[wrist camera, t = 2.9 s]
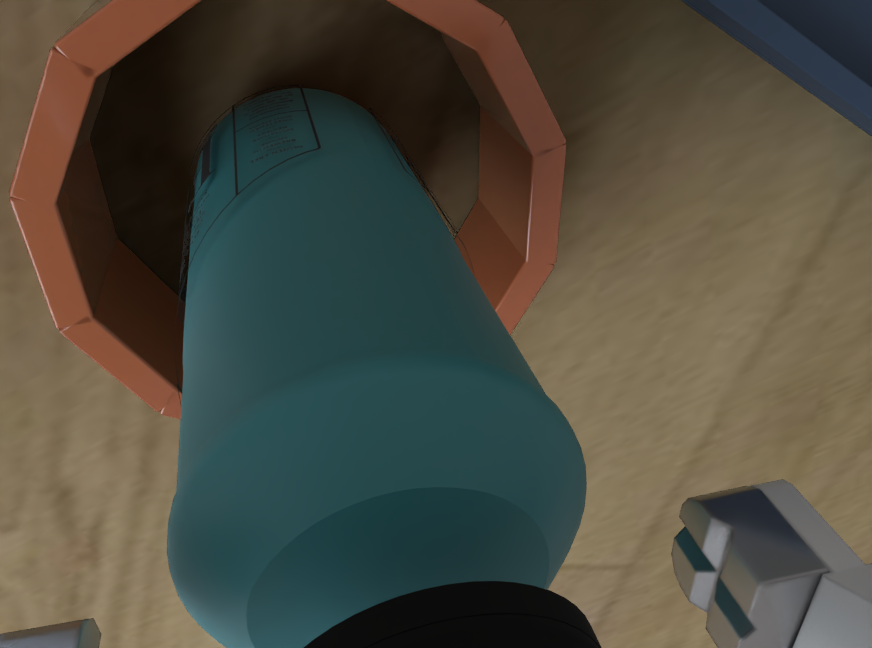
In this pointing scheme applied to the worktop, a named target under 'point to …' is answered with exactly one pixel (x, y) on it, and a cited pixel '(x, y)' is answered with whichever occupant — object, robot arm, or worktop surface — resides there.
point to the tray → (808, 45)
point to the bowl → (151, 298)
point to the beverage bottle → (356, 408)
